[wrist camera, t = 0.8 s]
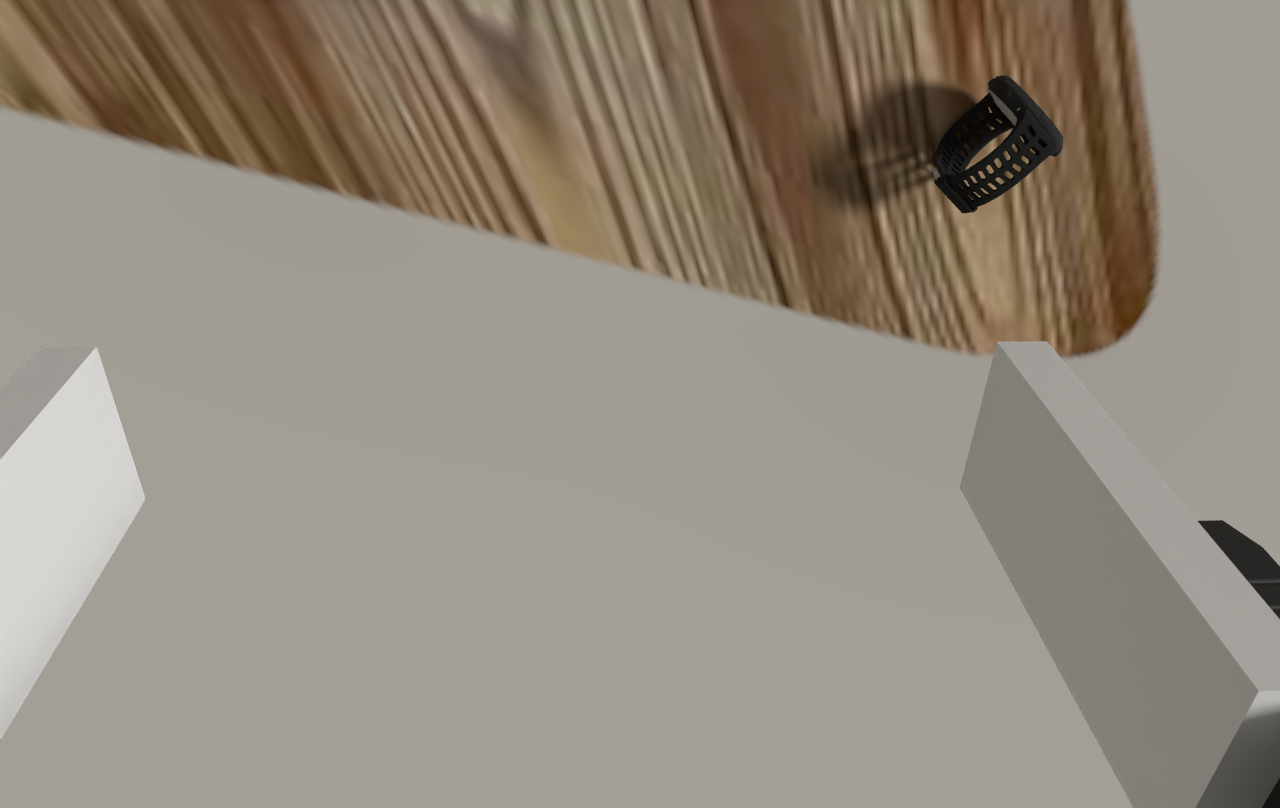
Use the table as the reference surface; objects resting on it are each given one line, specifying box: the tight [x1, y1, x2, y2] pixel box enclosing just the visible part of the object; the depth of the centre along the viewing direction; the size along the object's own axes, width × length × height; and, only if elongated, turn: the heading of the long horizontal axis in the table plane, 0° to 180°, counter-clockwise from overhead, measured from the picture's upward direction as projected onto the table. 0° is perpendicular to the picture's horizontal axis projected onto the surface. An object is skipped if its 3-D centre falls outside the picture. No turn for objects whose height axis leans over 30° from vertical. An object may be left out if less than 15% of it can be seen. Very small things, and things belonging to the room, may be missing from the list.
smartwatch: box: [932, 76, 1063, 213], centre depth 37 cm, size 4×5×5 cm
